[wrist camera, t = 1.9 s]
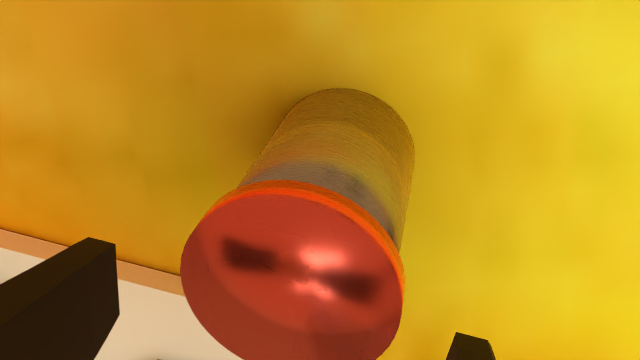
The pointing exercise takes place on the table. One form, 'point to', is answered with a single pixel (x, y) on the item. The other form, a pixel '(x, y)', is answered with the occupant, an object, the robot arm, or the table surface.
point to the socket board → (131, 308)
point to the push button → (309, 237)
